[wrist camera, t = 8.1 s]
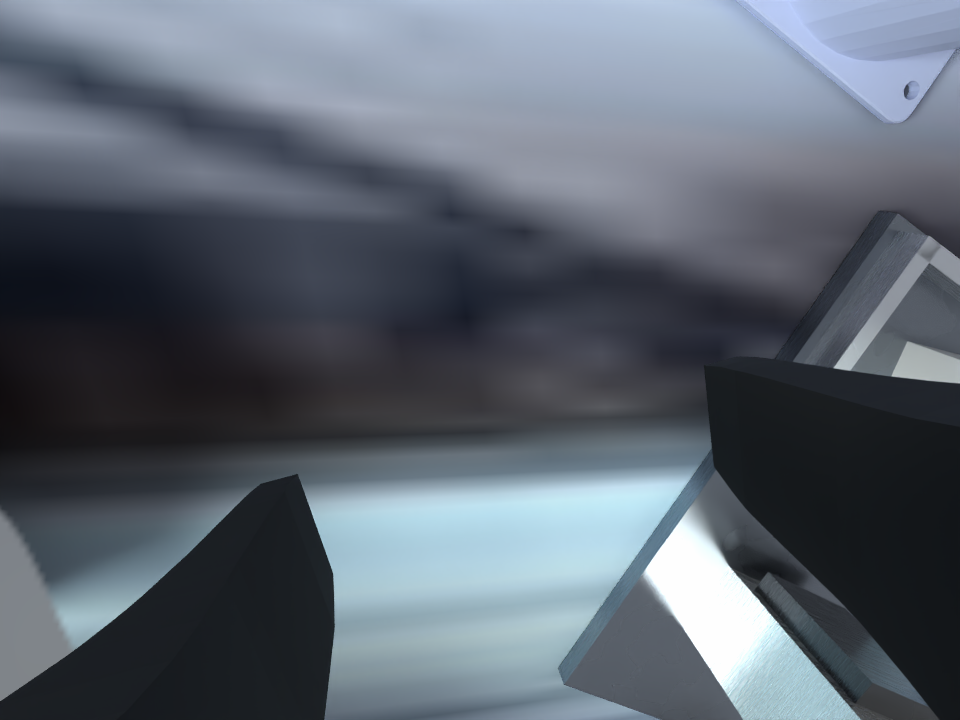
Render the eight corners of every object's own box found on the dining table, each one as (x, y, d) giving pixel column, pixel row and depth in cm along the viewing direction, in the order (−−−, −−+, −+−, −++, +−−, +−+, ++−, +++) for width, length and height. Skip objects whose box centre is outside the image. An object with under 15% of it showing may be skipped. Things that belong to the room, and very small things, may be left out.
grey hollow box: (879, 210, 21) (1153, 244, 14) (1072, 358, 24) (1379, 450, 17) (557, 668, 25) (636, 886, 17) (761, 742, 28) (900, 953, 21)
